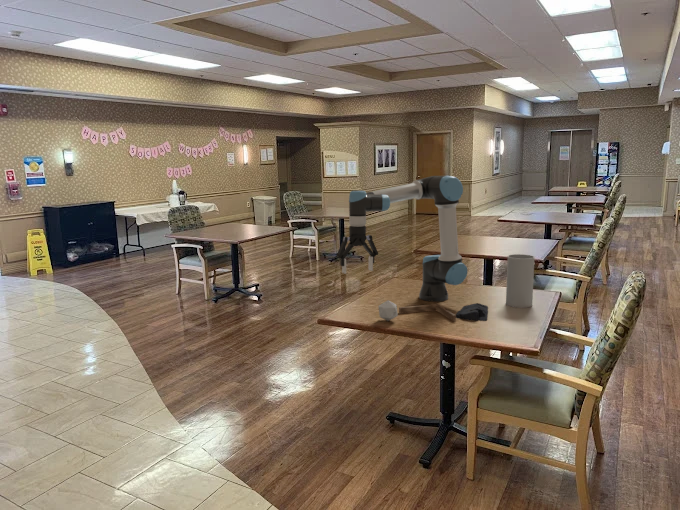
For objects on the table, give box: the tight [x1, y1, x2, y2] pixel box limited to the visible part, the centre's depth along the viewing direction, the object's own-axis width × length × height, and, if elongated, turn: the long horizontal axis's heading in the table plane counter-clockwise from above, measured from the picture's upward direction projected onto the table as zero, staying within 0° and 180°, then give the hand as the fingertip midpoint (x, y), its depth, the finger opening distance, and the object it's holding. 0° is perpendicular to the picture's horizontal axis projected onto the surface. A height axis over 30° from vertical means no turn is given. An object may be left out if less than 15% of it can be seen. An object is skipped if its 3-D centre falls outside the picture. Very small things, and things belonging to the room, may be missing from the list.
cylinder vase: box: [505, 253, 535, 309], centre depth 258 cm, size 12×12×25 cm
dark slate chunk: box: [455, 302, 489, 322], centre depth 247 cm, size 15×22×5 cm
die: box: [378, 299, 399, 322], centre depth 238 cm, size 8×9×10 cm
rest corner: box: [398, 303, 457, 322], centre depth 243 cm, size 20×20×3 cm
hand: (357, 271), depth 237 cm, fingers open, 13 cm apart
